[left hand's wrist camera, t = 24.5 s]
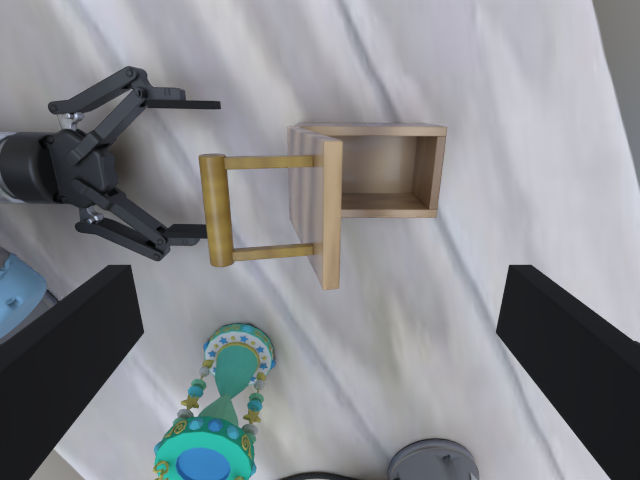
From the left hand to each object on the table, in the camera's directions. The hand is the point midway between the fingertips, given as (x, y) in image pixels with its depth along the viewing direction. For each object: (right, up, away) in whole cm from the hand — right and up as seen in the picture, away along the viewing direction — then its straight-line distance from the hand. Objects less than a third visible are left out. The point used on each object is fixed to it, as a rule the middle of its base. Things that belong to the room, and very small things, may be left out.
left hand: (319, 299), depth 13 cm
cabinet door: (0, +6, +16) cm, 17 cm away
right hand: (-11, +9, +26) cm, 30 cm away
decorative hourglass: (-12, -15, +42) cm, 46 cm away
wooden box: (+5, +12, +32) cm, 35 cm away
